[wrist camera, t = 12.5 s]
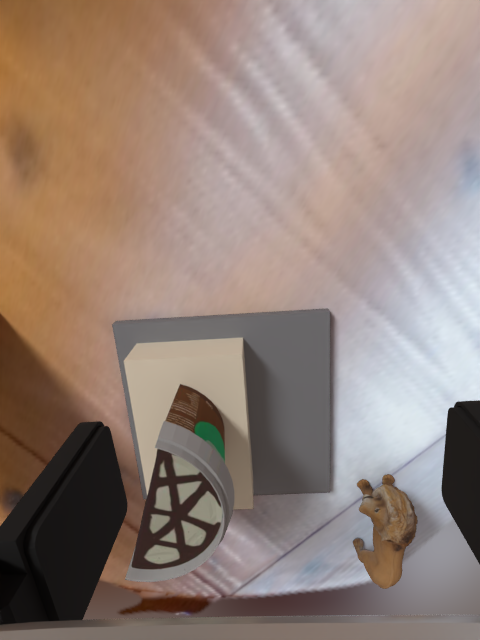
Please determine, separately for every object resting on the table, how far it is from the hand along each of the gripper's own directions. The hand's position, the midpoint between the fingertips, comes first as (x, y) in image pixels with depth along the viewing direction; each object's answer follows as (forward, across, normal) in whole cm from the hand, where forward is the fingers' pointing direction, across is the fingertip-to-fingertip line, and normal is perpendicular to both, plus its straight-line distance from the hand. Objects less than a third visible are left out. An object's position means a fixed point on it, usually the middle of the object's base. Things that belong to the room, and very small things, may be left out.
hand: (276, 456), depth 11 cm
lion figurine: (+26, -9, +27) cm, 39 cm away
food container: (+21, +7, +14) cm, 26 cm away
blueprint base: (+26, +5, +14) cm, 30 cm away
